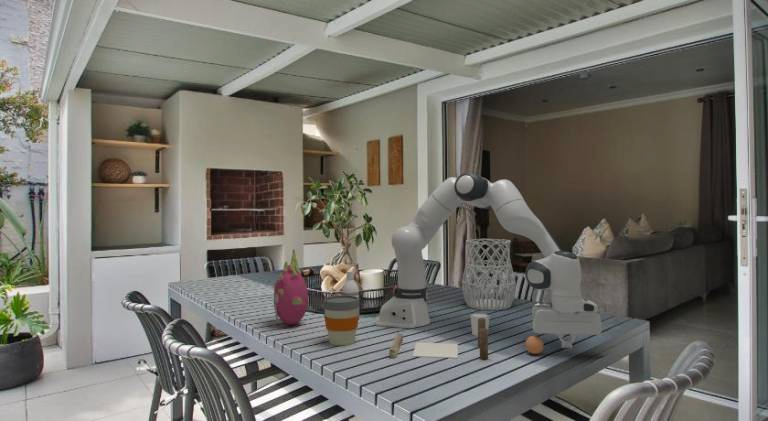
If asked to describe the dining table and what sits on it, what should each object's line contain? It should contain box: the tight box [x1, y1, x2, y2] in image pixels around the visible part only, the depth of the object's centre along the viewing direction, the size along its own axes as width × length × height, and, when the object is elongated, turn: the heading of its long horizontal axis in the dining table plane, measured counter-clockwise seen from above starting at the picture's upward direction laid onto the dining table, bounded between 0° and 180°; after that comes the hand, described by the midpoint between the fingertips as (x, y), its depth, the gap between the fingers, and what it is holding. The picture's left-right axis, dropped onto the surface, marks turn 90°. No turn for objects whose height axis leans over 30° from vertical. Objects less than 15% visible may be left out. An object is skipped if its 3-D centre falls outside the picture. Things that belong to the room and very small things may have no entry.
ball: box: [524, 335, 544, 355], centre depth 150 cm, size 6×6×6 cm
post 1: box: [477, 318, 486, 348], centre depth 158 cm, size 2×2×9 cm
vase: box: [461, 238, 517, 311], centre depth 218 cm, size 24×24×30 cm
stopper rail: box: [389, 333, 404, 359], centre depth 157 cm, size 2×18×2 cm, turn 171°
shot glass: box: [469, 312, 490, 337], centre depth 172 cm, size 7×7×7 cm
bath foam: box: [341, 270, 360, 320], centre depth 197 cm, size 7×7×20 cm
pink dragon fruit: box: [273, 249, 309, 326], centre depth 189 cm, size 18×14×30 cm
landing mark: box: [412, 342, 459, 359], centre depth 155 cm, size 14×14×1 cm
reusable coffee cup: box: [322, 295, 360, 346], centre depth 166 cm, size 13×13×15 cm
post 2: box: [479, 328, 489, 361], centre depth 146 cm, size 2×2×9 cm
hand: (566, 347), depth 148 cm, fingers closed
